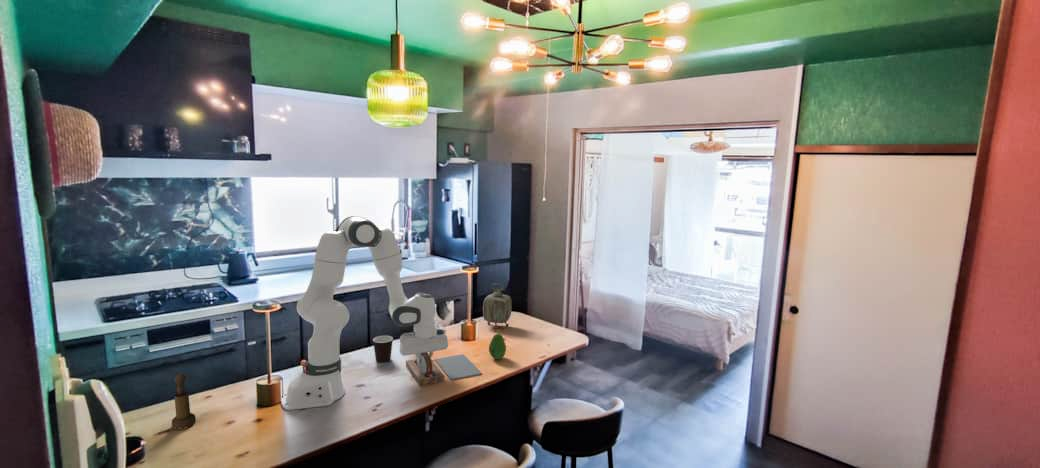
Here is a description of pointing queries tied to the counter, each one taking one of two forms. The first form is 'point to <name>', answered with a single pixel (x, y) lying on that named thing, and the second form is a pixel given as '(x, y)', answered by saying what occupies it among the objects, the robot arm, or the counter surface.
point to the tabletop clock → (497, 307)
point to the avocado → (497, 347)
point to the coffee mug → (383, 348)
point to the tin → (425, 363)
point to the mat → (457, 367)
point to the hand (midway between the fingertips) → (424, 361)
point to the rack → (419, 376)
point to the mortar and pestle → (182, 406)
